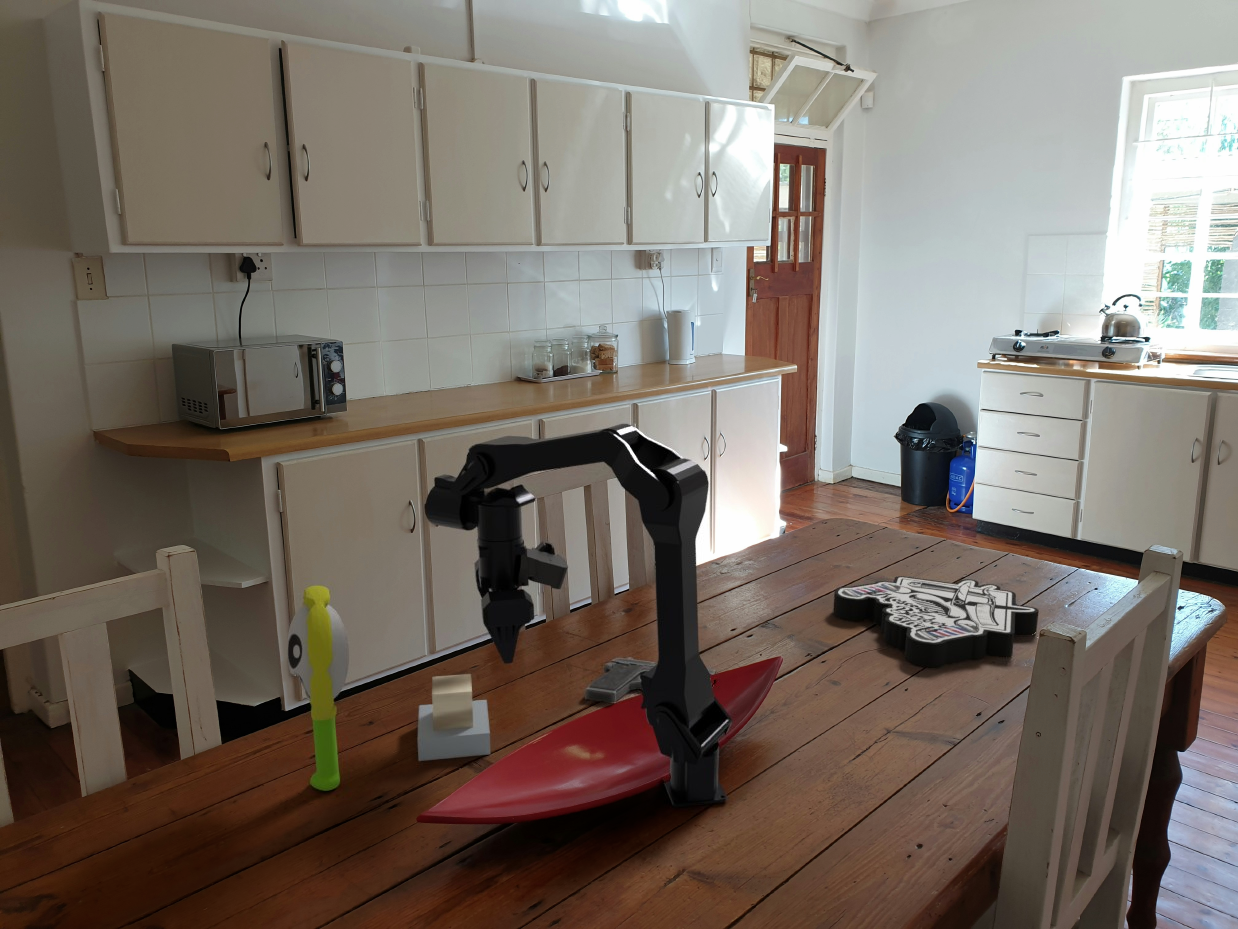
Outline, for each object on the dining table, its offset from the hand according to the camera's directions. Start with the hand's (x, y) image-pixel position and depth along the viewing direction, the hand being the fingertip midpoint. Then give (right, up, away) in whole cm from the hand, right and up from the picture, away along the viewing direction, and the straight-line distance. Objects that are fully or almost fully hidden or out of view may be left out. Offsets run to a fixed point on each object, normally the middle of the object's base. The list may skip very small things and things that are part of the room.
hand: (505, 648), depth 122 cm
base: (-7, -12, 0) cm, 14 cm away
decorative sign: (+71, -4, +37) cm, 80 cm away
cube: (-7, -9, -1) cm, 11 cm away
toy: (-20, -15, -11) cm, 27 cm away
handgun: (+20, -9, +14) cm, 26 cm away
